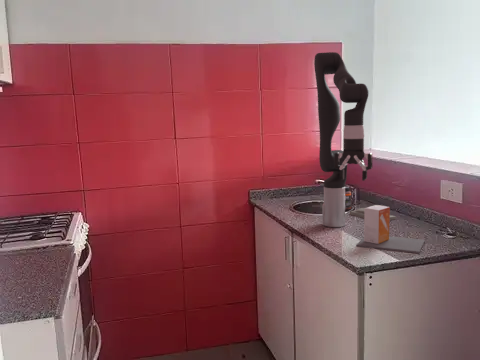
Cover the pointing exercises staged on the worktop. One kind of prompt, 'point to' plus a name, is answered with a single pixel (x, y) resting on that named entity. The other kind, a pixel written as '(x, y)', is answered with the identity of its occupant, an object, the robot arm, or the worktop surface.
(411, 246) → the mat
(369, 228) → the small box
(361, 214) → the soap mold
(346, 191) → the supplement bottle
